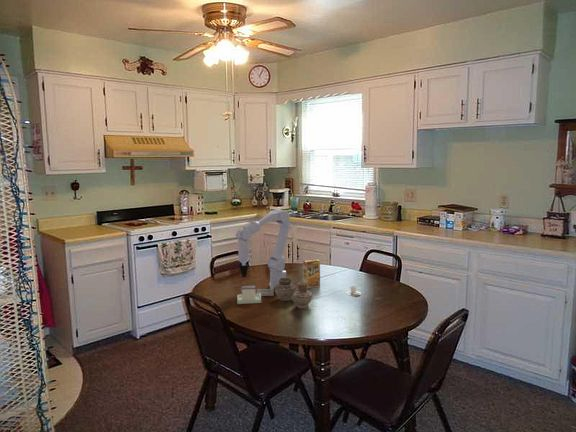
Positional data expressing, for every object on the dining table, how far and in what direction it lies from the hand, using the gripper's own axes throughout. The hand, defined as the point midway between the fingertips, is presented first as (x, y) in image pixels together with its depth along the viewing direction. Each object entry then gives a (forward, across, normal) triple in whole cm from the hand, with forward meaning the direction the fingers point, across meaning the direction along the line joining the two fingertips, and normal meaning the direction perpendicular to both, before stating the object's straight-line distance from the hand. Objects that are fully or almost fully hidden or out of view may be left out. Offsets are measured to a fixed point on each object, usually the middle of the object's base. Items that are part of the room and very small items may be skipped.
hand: (244, 275), depth 233 cm
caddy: (+9, +13, +2) cm, 16 cm away
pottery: (+10, +19, +25) cm, 33 cm away
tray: (+10, +13, +2) cm, 17 cm away
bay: (+10, +4, +10) cm, 15 cm away
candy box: (+10, -6, +38) cm, 40 cm away
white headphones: (+11, +10, +56) cm, 58 cm away
